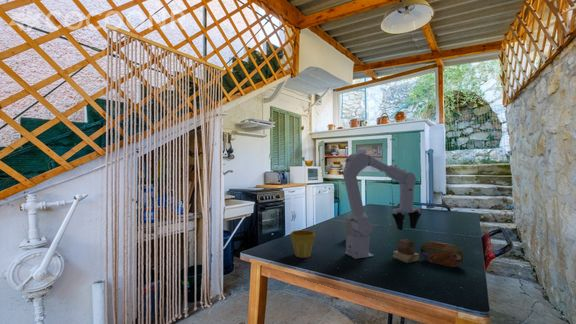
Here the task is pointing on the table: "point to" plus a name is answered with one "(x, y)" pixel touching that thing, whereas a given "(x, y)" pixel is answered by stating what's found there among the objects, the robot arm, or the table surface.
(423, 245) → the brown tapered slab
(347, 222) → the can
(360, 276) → the table surface
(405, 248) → the walnut block
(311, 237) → the plant pot
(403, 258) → the oak block
